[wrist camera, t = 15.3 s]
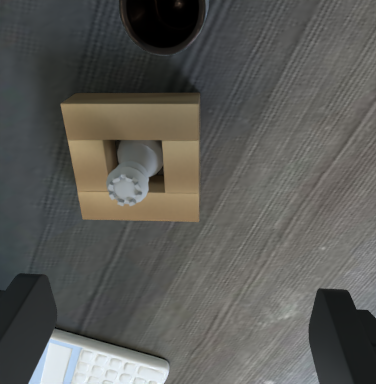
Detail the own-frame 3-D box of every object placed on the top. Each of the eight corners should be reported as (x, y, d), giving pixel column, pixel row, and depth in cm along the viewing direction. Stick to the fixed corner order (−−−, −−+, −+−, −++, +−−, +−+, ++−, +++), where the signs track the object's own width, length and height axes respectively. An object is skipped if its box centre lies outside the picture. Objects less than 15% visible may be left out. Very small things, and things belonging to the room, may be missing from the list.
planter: (219, 16, 27) (221, 28, 18) (168, 46, 29) (148, 71, 20) (190, -45, 26) (177, -66, 17) (138, -10, 27) (100, -11, 18)
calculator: (146, 411, 54) (143, 424, 53) (15, 377, 52) (9, 389, 51) (172, 359, 48) (171, 373, 46) (25, 318, 46) (18, 330, 44)
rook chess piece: (113, 132, 33) (85, 170, 26) (160, 123, 32) (144, 159, 25) (128, 175, 35) (106, 221, 28) (172, 167, 34) (161, 212, 27)
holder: (75, 92, 31) (60, 103, 28) (200, 92, 30) (198, 103, 27) (93, 200, 36) (82, 219, 33) (200, 202, 36) (199, 222, 33)
